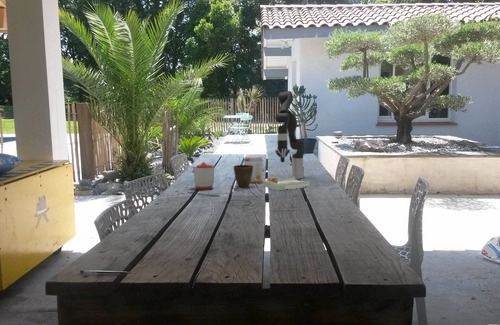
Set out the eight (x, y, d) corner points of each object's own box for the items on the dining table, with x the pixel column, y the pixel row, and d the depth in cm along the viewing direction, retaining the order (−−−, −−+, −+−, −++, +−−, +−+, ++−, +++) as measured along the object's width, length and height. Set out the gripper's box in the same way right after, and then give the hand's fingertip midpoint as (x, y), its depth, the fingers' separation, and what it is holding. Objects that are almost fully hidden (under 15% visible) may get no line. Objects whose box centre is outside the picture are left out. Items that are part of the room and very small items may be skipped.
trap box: (294, 183, 383) (294, 177, 383) (309, 187, 366) (309, 181, 366) (264, 186, 370) (264, 180, 369) (278, 190, 352) (278, 184, 352)
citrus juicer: (197, 186, 372) (196, 160, 370) (217, 187, 366) (217, 161, 364) (187, 189, 357) (187, 162, 355) (209, 191, 352) (209, 163, 349)
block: (273, 182, 370) (273, 177, 370) (277, 183, 366) (277, 178, 366) (267, 182, 368) (267, 177, 367) (270, 183, 363) (270, 178, 363)
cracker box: (262, 182, 390) (262, 156, 388) (261, 183, 384) (261, 157, 382) (245, 181, 392) (245, 156, 389) (244, 183, 386) (244, 157, 383)
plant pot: (251, 189, 359) (251, 167, 357) (231, 188, 362) (231, 167, 360) (254, 185, 373) (254, 165, 371) (236, 185, 376) (236, 164, 374)
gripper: (286, 138, 374) (286, 161, 376) (272, 139, 367) (272, 162, 369) (292, 139, 367) (292, 162, 369) (277, 140, 361) (278, 163, 363)
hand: (282, 162), depth 369 cm, fingers closed
